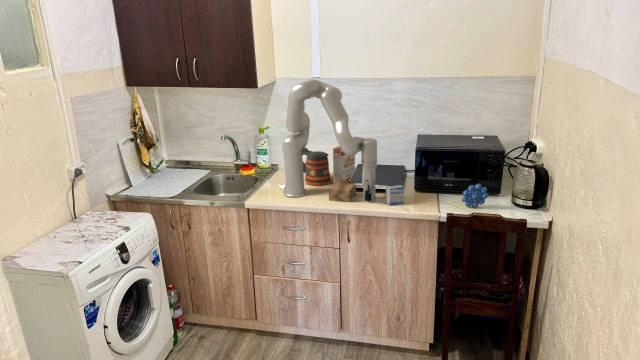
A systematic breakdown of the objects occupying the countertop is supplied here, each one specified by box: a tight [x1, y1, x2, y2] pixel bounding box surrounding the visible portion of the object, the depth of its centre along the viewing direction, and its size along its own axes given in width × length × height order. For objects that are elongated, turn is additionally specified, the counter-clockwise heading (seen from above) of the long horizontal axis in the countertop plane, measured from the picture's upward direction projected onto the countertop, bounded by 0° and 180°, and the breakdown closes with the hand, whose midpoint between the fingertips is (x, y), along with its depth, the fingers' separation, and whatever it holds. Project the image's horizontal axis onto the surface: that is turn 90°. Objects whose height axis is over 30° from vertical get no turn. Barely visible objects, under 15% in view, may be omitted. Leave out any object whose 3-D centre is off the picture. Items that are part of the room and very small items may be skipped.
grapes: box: [461, 183, 489, 209], centre depth 221 cm, size 12×7×12 cm, turn 74°
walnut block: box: [328, 182, 357, 203], centre depth 240 cm, size 11×11×6 cm
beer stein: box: [301, 146, 332, 187], centre depth 264 cm, size 19×15×20 cm
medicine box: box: [385, 184, 405, 206], centre depth 230 cm, size 8×4×9 cm, turn 105°
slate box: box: [362, 185, 376, 203], centre depth 235 cm, size 5×5×7 cm
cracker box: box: [332, 145, 356, 185], centre depth 261 cm, size 14×6×21 cm, turn 143°
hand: (369, 198), depth 236 cm, fingers closed on slate box, 5 cm apart
